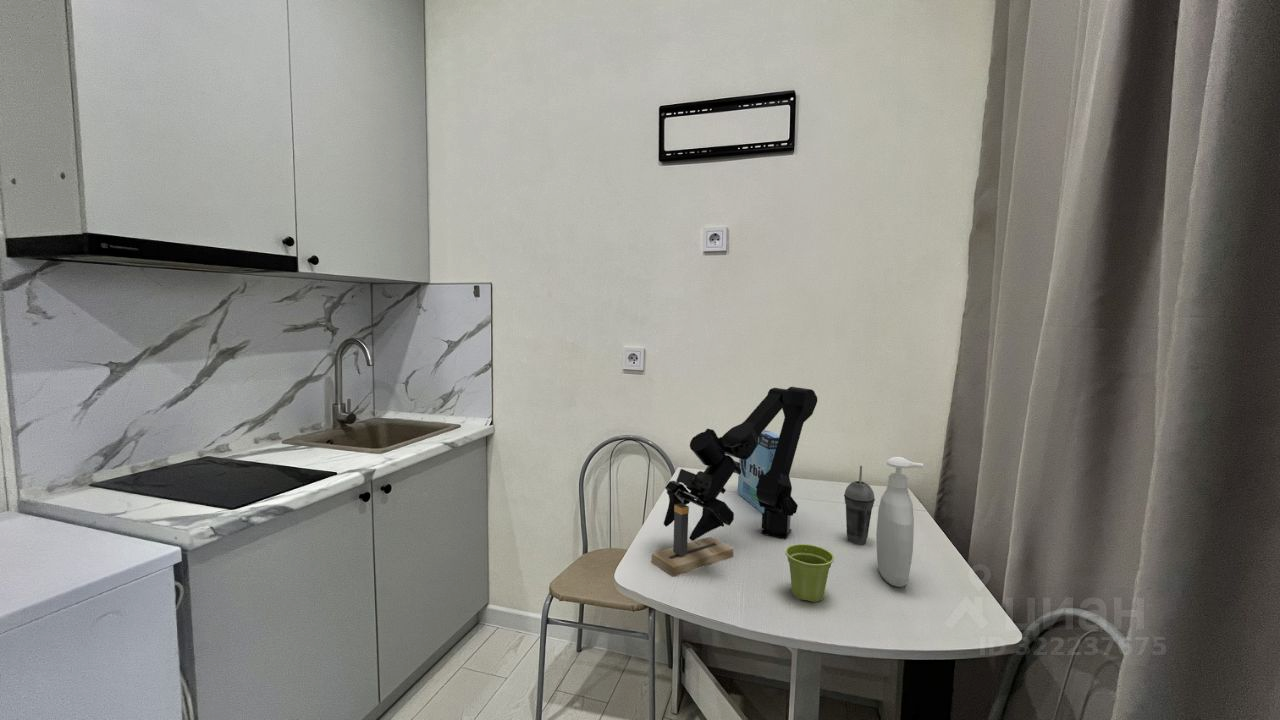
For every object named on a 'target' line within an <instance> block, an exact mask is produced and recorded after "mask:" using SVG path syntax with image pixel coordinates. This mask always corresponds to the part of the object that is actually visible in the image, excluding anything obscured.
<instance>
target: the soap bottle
mask: <svg viewBox="0 0 1280 720" xmlns="http://www.w3.org/2000/svg"><path fill="white" fill-rule="evenodd" d="M886 465H887V466H889V467H892V468H895V472H892V473H890V474H888V481H887V483H888V484H887V486H886V489H885V491H884V492H883V494H882V495H881V497H880V502H879V505H878V510H877V520H876V534H875V536H876V560H877V561H876V562H877V568H878V571H879V573H880V575H881V577H882V578H883V579H884V580H885V581H886V582H887V583H888V584H889V585H891V586H893V587H898V588H899V587H900V588H902V587H904V586H906V585H907V583H908V581H909V578H910V573H911V572H910V571H911V565H912V562H913V561H912V560H913V553H914V538H915V537H914V534H915V533H914V529H915V527H914V526H915V524H914V523H915V522H914V521H915V516H914V507H913V502H912V499H911V497H910V494H909V490H908V481H909V480H908V477H907V476H906V475H905V474H904V473H902V469H911V468H918V469H922V468H923V467H924V463H922V462H913V461H911V460H908V459H907V458H905V457H902V456H893V457H891V458H889V459H888V460H887V461H886Z"/></svg>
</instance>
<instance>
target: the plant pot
mask: <svg viewBox="0 0 1280 720" xmlns="http://www.w3.org/2000/svg"><path fill="white" fill-rule="evenodd" d="M784 552H785V556H786V557H787V561H788V564H789V573H790V582H791V592H792V594H793V595H794V596H795V597H796V598H797V599H800V601H801V600H802V601H809V602H810V603H815V602H820V601H822V600H823V599H824V598H825V597H824V596H825V591H826V588H827V587H826V586H827V582H828V575H829V571H830V568H831V567H832V564H833V563H834V561H835V557H834V555H833V553H832V552H831V551H829V550H828V549H826V548H823V547H821V546H817V545H814V544H806V543H796V544H791V545H789V546H787V547H786V548H785V551H784Z"/></svg>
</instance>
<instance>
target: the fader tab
mask: <svg viewBox="0 0 1280 720" xmlns="http://www.w3.org/2000/svg"><path fill="white" fill-rule="evenodd" d="M689 511H690V506H688V505H687V504H686V505H684V504H682V503H680V504H676V505H674V521H673V546H672V548H673V552H674V553H676V554H678V555H679V556H682V555H685V554H687V543H688V537H689V535H688V533H689V513H690V512H689Z"/></svg>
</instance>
